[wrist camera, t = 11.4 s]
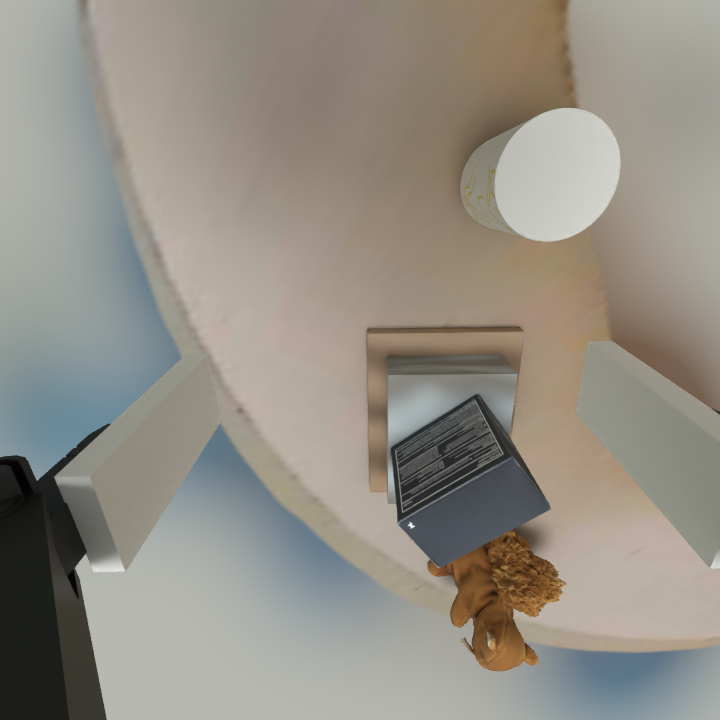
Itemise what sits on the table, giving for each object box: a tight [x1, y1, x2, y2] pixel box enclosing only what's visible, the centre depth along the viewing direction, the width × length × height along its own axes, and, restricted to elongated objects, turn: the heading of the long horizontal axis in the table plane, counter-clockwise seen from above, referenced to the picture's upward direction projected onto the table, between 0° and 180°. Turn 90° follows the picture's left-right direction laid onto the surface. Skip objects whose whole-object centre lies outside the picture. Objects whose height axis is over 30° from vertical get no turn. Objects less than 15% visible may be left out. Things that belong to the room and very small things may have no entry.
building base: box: [367, 327, 524, 504], centre depth 45 cm, size 20×16×6 cm
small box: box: [390, 394, 551, 568], centre depth 37 cm, size 11×6×10 cm, turn 128°
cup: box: [460, 108, 620, 242], centre depth 33 cm, size 8×8×12 cm
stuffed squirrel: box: [428, 530, 566, 671], centre depth 49 cm, size 10×14×13 cm
